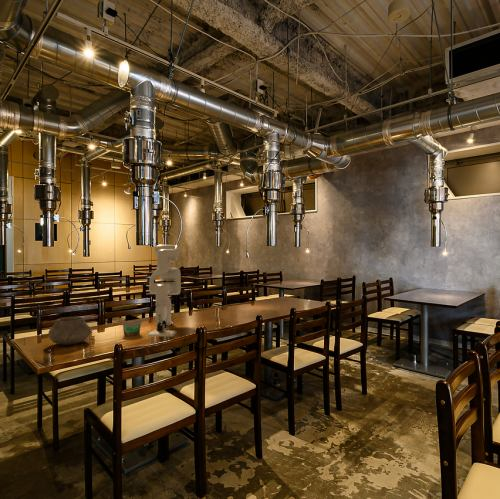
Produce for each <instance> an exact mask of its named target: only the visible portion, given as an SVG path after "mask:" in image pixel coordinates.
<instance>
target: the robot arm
mask: <svg viewBox="0 0 500 499" xmlns="http://www.w3.org/2000/svg"><path fill="white" fill-rule="evenodd" d="M154 253H155V255H156V258H157V259H156V263H157V264H156V270H154V272H152V274H151V276H150V278H149V285H148V288H149V289H148V290H149V294H151V295H155V326H156V331H157V332H162V324H165V330H166V329H167V326H166V325H168V326H171V324H172V325H173V324H174V322H173V321H172V300H171V298H170V297H169V296H171V295H173V296H175V295H177V296H178V295H180V294H181V289H182V286H181V282H182V281H181V276H182V275H181V270H180V268H178V267H171V262H175V261H176V262H177V261H178V260H179V256H180V255H179V254H180V247H179V245H177V244H158V245H156V246H155V247H154ZM157 278H159V280H160V281H162V282H155V280H156V279H157ZM163 281H165V282H163Z"/></svg>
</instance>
